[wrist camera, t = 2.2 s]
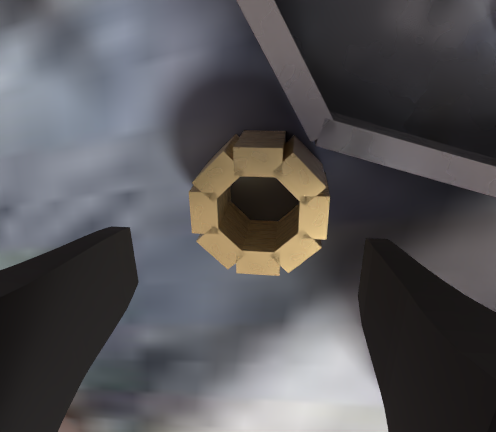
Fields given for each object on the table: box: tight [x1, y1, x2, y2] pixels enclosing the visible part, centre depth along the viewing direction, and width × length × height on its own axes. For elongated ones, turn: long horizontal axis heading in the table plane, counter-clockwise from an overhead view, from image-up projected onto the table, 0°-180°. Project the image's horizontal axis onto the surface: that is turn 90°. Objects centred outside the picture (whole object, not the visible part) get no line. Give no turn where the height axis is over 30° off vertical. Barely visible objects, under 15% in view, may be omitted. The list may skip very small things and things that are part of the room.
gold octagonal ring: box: [189, 130, 330, 276], centre depth 16 cm, size 5×5×3 cm
